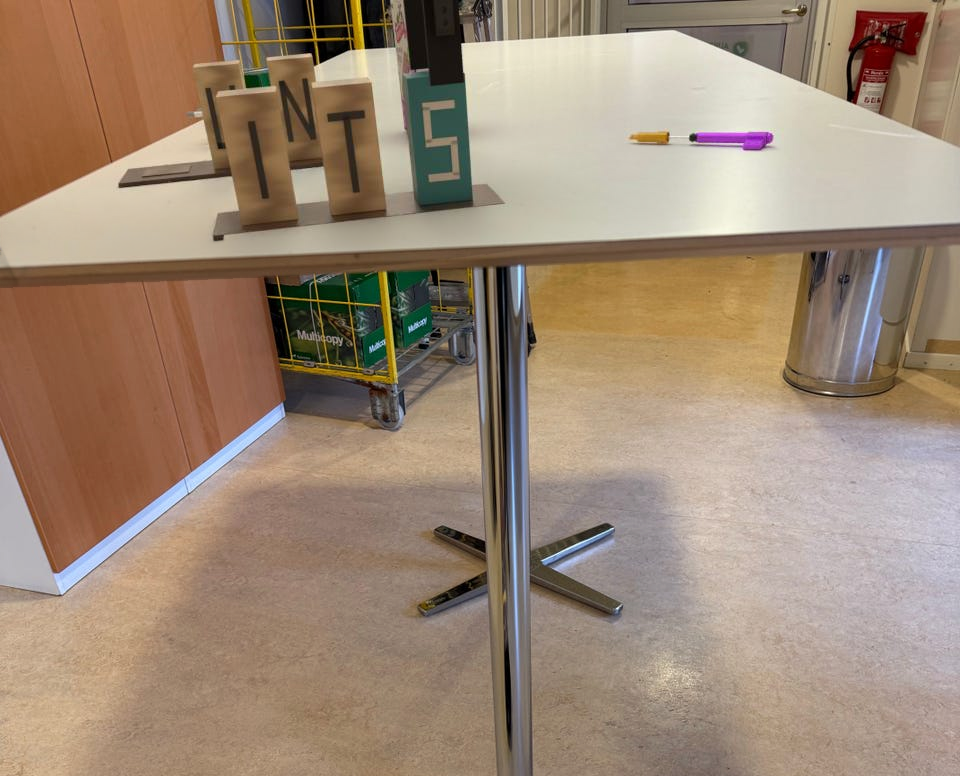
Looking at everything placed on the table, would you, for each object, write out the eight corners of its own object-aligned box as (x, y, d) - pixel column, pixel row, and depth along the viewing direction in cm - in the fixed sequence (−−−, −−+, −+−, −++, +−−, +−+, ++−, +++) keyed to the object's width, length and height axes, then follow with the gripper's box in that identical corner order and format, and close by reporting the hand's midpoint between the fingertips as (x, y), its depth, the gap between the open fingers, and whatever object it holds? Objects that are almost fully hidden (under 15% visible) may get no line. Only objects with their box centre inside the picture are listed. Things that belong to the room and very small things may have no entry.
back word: (118, 187, 102) (88, 79, 96) (128, 172, 109) (101, 70, 103) (350, 162, 105) (336, 56, 99) (345, 150, 112) (332, 49, 106)
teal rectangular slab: (419, 206, 83) (407, 78, 77) (413, 197, 87) (401, 73, 81) (473, 200, 84) (465, 72, 78) (465, 191, 87) (457, 68, 81)
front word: (213, 240, 80) (182, 103, 74) (218, 217, 87) (190, 90, 81) (505, 207, 83) (499, 72, 76) (487, 187, 90) (480, 63, 83)
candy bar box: (401, 131, 121) (385, -22, 111) (438, 127, 122) (426, -26, 112) (419, 144, 112) (404, -21, 102) (459, 139, 113) (447, -25, 103)
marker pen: (774, 141, 97) (632, 140, 104) (774, 129, 96) (631, 129, 103) (766, 153, 96) (623, 150, 103) (766, 141, 95) (622, 139, 102)
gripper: (487, -308, 57) (506, 86, 70) (432, -239, 77) (455, 58, 90) (367, -300, 56) (409, 97, 69) (343, -233, 76) (379, 66, 89)
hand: (435, 76), depth 79 cm, fingers open, 13 cm apart
